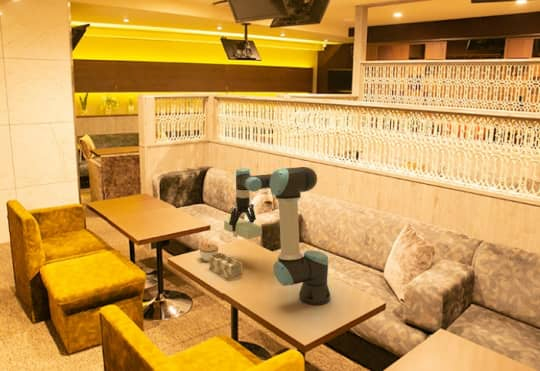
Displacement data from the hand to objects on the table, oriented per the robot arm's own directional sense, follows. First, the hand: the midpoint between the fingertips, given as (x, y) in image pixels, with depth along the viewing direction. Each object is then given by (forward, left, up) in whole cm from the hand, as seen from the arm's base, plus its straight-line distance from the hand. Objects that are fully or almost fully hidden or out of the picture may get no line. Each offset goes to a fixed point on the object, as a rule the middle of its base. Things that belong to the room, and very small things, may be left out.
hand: (242, 234), depth 260 cm
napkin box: (-10, +12, -18) cm, 24 cm away
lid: (0, 0, +1) cm, 1 cm away
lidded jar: (+12, +17, -18) cm, 27 cm away
